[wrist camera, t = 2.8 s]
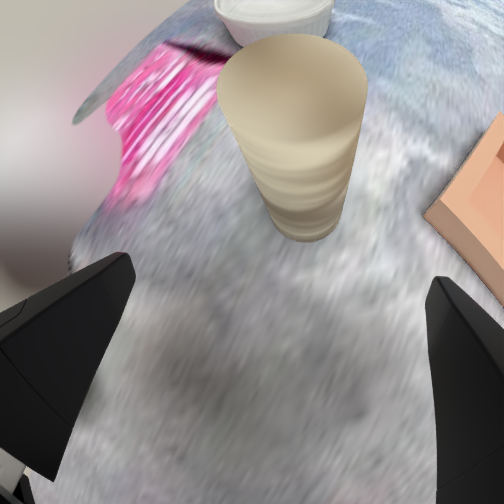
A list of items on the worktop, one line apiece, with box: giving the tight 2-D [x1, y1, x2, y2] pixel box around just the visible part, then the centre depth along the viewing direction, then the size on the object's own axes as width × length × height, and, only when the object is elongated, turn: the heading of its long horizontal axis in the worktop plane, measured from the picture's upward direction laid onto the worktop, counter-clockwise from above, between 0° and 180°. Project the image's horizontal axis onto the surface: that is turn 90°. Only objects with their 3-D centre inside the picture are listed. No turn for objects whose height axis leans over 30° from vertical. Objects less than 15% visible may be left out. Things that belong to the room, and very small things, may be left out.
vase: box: [217, 34, 368, 242], centre depth 15 cm, size 5×5×13 cm
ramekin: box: [214, 0, 335, 47], centre depth 23 cm, size 11×11×5 cm
